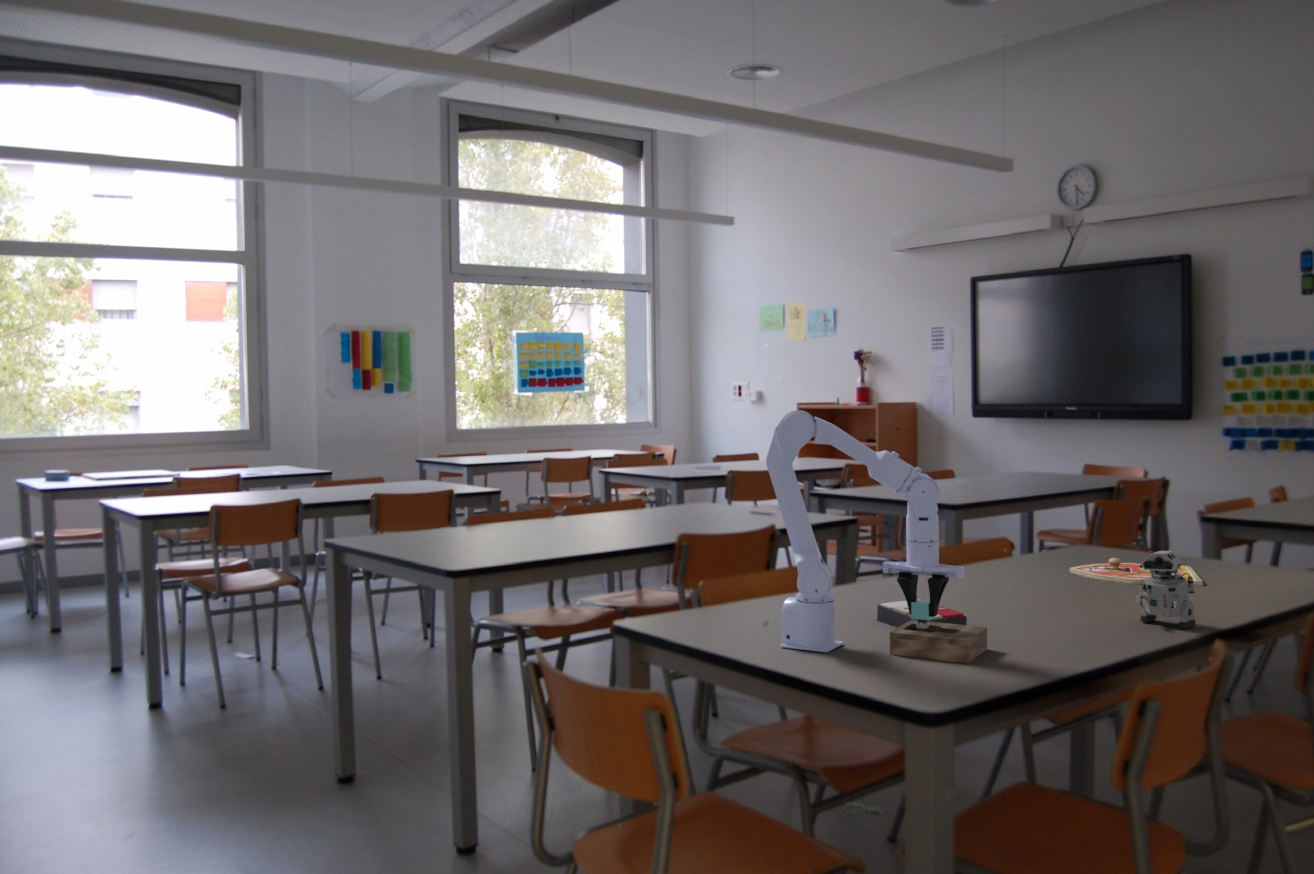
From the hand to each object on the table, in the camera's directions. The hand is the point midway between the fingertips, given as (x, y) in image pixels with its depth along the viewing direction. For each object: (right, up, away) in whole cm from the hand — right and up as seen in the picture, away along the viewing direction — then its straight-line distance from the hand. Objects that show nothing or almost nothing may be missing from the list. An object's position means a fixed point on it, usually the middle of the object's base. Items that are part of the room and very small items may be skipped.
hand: (923, 614), depth 186 cm
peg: (0, -6, 0) cm, 6 cm away
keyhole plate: (+2, -6, -2) cm, 7 cm away
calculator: (+5, -6, +21) cm, 22 cm away
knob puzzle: (+73, -4, +75) cm, 105 cm away
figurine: (+51, -5, +15) cm, 54 cm away
